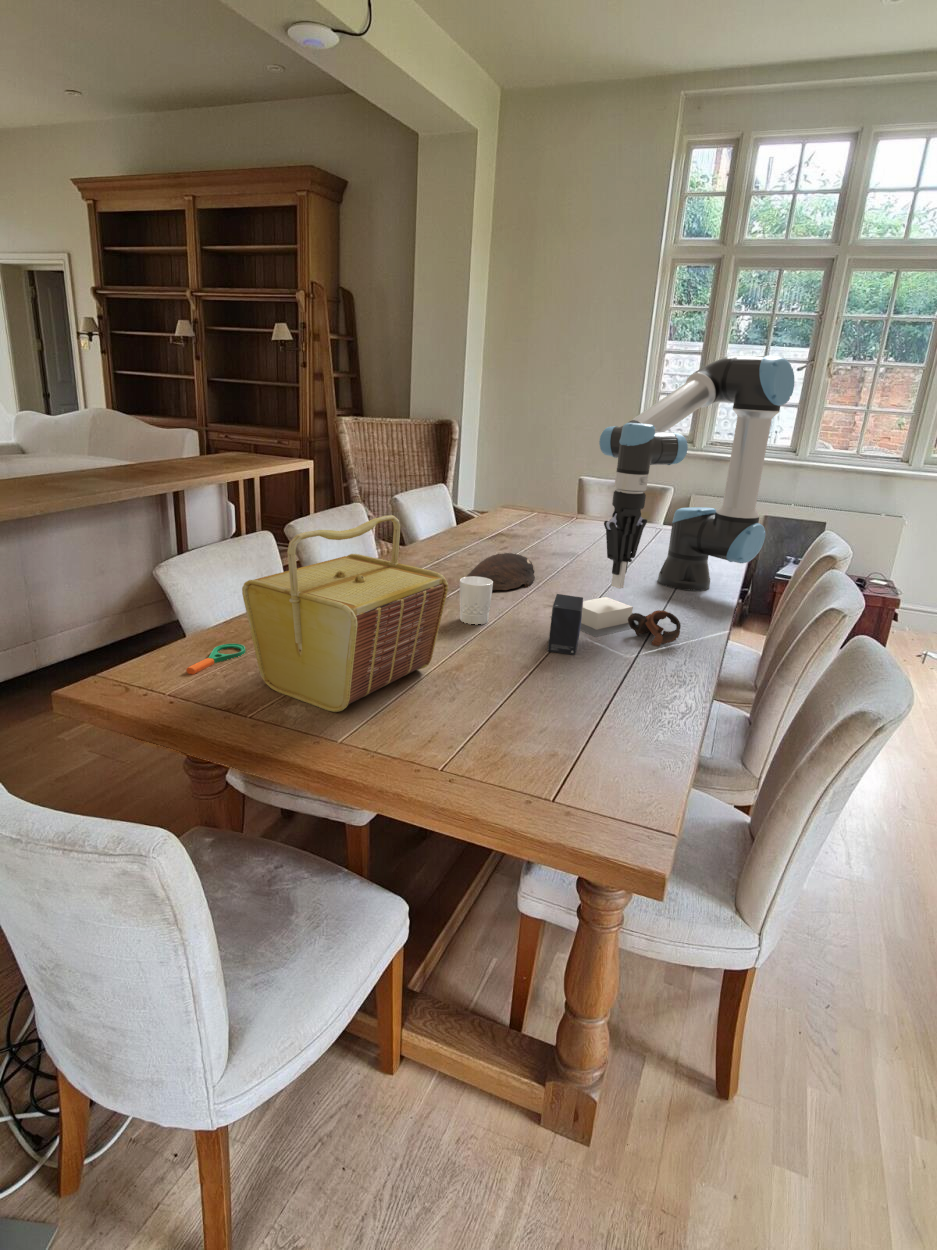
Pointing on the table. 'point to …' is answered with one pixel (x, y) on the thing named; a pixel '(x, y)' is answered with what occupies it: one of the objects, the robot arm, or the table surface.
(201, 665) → the magnifying glass
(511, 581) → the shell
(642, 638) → the table surface
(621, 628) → the mat
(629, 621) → the brown curved piece
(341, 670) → the picnic basket
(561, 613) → the small box
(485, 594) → the white cup
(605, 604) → the tall block
